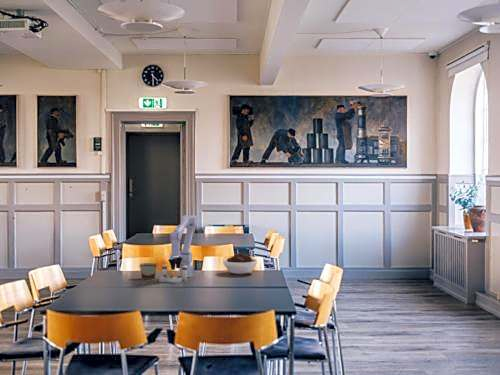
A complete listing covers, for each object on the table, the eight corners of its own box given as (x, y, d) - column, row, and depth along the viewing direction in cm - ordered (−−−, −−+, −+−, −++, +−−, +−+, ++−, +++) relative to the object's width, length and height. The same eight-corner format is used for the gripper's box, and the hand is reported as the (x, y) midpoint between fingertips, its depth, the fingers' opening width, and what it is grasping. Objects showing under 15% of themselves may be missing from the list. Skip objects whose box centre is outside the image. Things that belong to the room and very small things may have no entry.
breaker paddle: (170, 275, 398) (170, 271, 398) (174, 276, 397) (174, 271, 397) (169, 276, 397) (169, 272, 397) (173, 276, 396) (173, 272, 396)
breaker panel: (163, 280, 401) (163, 274, 401) (182, 281, 396) (182, 275, 396) (159, 281, 394) (159, 276, 394) (178, 282, 390) (178, 277, 390)
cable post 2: (185, 280, 400) (185, 265, 400) (188, 280, 398) (188, 266, 398) (181, 280, 398) (181, 266, 398) (184, 281, 396) (184, 266, 396)
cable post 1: (165, 279, 405) (165, 264, 405) (167, 279, 403) (167, 265, 403) (161, 279, 403) (161, 264, 403) (163, 280, 401) (163, 265, 400)
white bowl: (216, 274, 427) (216, 253, 427) (235, 269, 448) (235, 250, 448) (245, 277, 414) (245, 255, 414) (263, 272, 435) (263, 252, 435)
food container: (159, 277, 412) (159, 263, 412) (156, 278, 406) (156, 264, 406) (141, 277, 413) (141, 262, 413) (139, 278, 407) (139, 264, 407)
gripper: (174, 247, 410) (174, 267, 410) (165, 249, 396) (165, 270, 396) (184, 248, 408) (184, 267, 408) (175, 250, 394) (175, 270, 394)
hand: (175, 268), depth 402 cm, fingers open, 7 cm apart
